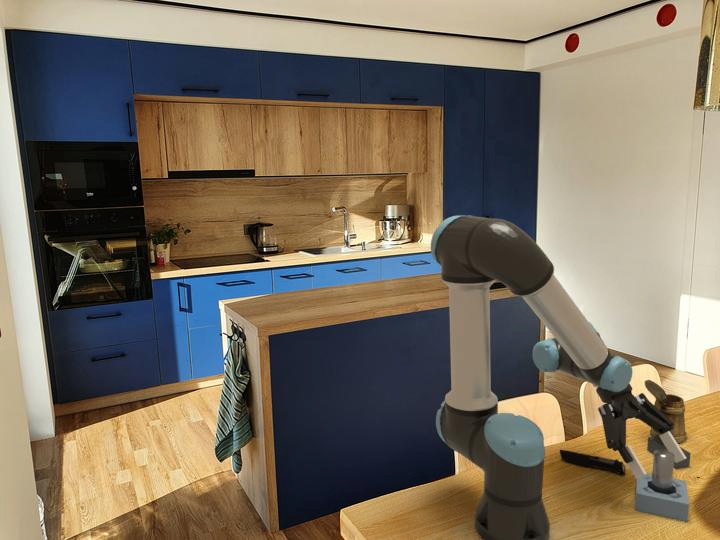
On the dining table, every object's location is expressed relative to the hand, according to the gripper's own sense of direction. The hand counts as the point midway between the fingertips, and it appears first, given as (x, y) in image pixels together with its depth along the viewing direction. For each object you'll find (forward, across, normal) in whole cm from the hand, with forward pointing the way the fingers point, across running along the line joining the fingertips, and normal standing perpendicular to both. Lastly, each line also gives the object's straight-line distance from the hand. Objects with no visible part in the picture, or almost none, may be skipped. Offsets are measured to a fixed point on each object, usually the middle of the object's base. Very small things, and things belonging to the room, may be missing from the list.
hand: (661, 468), depth 126 cm
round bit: (+6, 0, -6) cm, 8 cm away
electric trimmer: (-6, 0, -19) cm, 20 cm away
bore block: (+6, 0, -6) cm, 8 cm away
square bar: (-2, -20, -14) cm, 24 cm away
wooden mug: (-8, -29, -20) cm, 36 cm away
